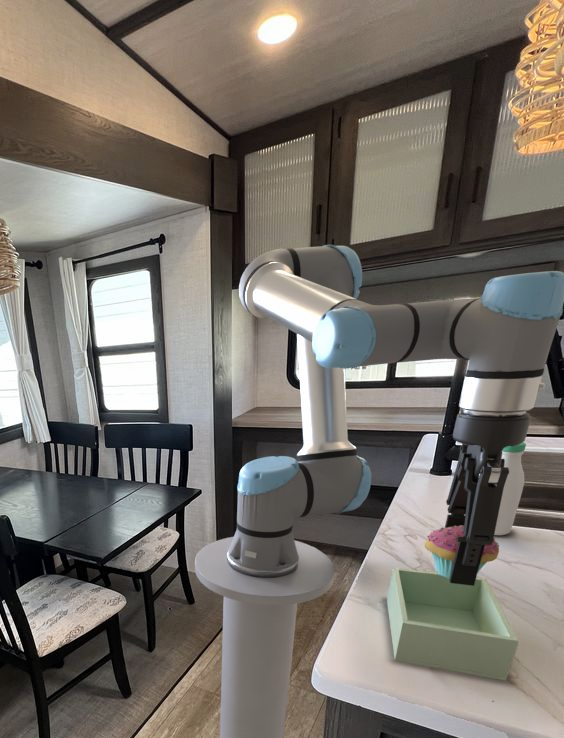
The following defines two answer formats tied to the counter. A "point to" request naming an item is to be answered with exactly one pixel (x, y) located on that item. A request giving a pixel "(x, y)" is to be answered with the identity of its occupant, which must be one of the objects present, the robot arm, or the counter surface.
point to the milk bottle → (510, 488)
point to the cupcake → (453, 549)
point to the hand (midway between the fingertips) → (455, 568)
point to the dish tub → (449, 624)
